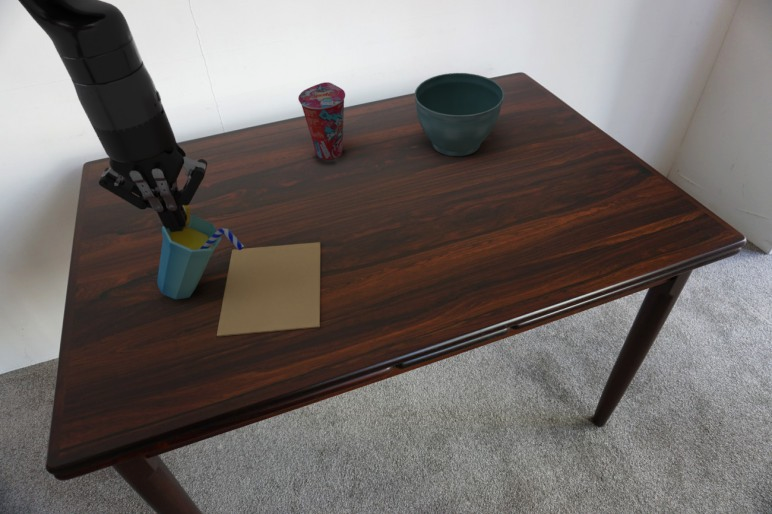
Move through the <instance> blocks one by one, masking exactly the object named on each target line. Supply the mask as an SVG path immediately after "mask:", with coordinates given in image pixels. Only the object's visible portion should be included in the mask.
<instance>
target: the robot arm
mask: <svg viewBox="0 0 772 514" xmlns="http://www.w3.org/2000/svg"><path fill="white" fill-rule="evenodd" d="M17 1H18V2H19V3H20V5H22V7H23V8H24V9H25V10H26V12H27V13H28V14H29V15H30V17H31V18H32V20H34V21H35V22H36V24H37V25H38V26H39V27H40V28H41V29H42V30H43V32H44V33H45V34H46V35H47V37H48V38H49V39H50V40H51V42H52V44H53V46H54V48H55V50H56V53H57V54H58V55H59V58H60V60H61V62H62V64H63V66H64V67H65V70H66V72H67V74H68V76H69V77H70V80H71V83H72V84H73V87H74V90H75V93H76V96H77V99H78V101H79V103H80V106H81V107H82V109H83V111H84V114H85V115H86V116H87V119H88V121H89V123H90V124H91V125H90V126H91V127H92V128H93V130H94V132H95V134H96V137H97V138H98V140H99V142H100V144H101V146H102V148H103V150H104V152H105V154H106V155H107V157H108V158H109V161H108V163H109V164H108V165H109V167H105V169H104V170H103V172H102V173H101V177H100V179H99V180H98V185H99V186H100V187H101V188H103V189H105V190H106V191H108V192H110V193H111V194H113V195H115V196H117V197H118V198H121V199H122V200H123V201H125V202H127V203H129V204H131V205H132V206H133V207H135V208H137V209H139V210H146V209H147V208H148V209H152V210H153V211H155V212H156V213H157V215H158V217H159V220H160V222H161V223H162V227H163V226H164V227H165V228H166V229H168V228H169V230H170V232H177V231H183V228H184V227H185V226H186V222H187V215H186V212H185V210H184V208H183V205H184V206H186V205H189V206H190V204H191V202H192V200H193V198H194V197H195V194H196V193H197V190H198V189H199V187H200V185H201V183H202V182H203V180H204V178H205V176H206V172H207V167H208V162H207V160H206V159H203V158H199V159H198V160H196V159H192V158H191V157H188V156H187V155H186V152H185V150H184V148H182V147H181V146H180V145H179V144H178V143H177V140H176V136H175V133H174V131H173V128H172V126H171V122H170V120H169V118H168V116H167V113H166V110H165V108H164V105H163V103H162V98H161V95H160V92H159V90H158V89H157V87H156V84H155V83H154V80H153V78H152V76H151V74H150V73H149V71H148V69H147V67H146V65H145V63H144V60H143V58H142V56H141V53H140V51H139V48H138V45H137V44H136V40H135V39H134V36H133V34H132V31H131V29H130V26H129V24H128V21H127V19H126V18H125V16H124V14H123V12H122V11H121V10H120V8H118V7H117V6H116V5H114V4H112V3H110V2H106V1H104V0H17ZM183 168H184V170H185V172H184V173H185V177H186V178H187V180H186V181H185V183H184V186H183V187H182V189H179V186H178V178H179V176H180V173H181V171H182V169H183Z"/></svg>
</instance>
